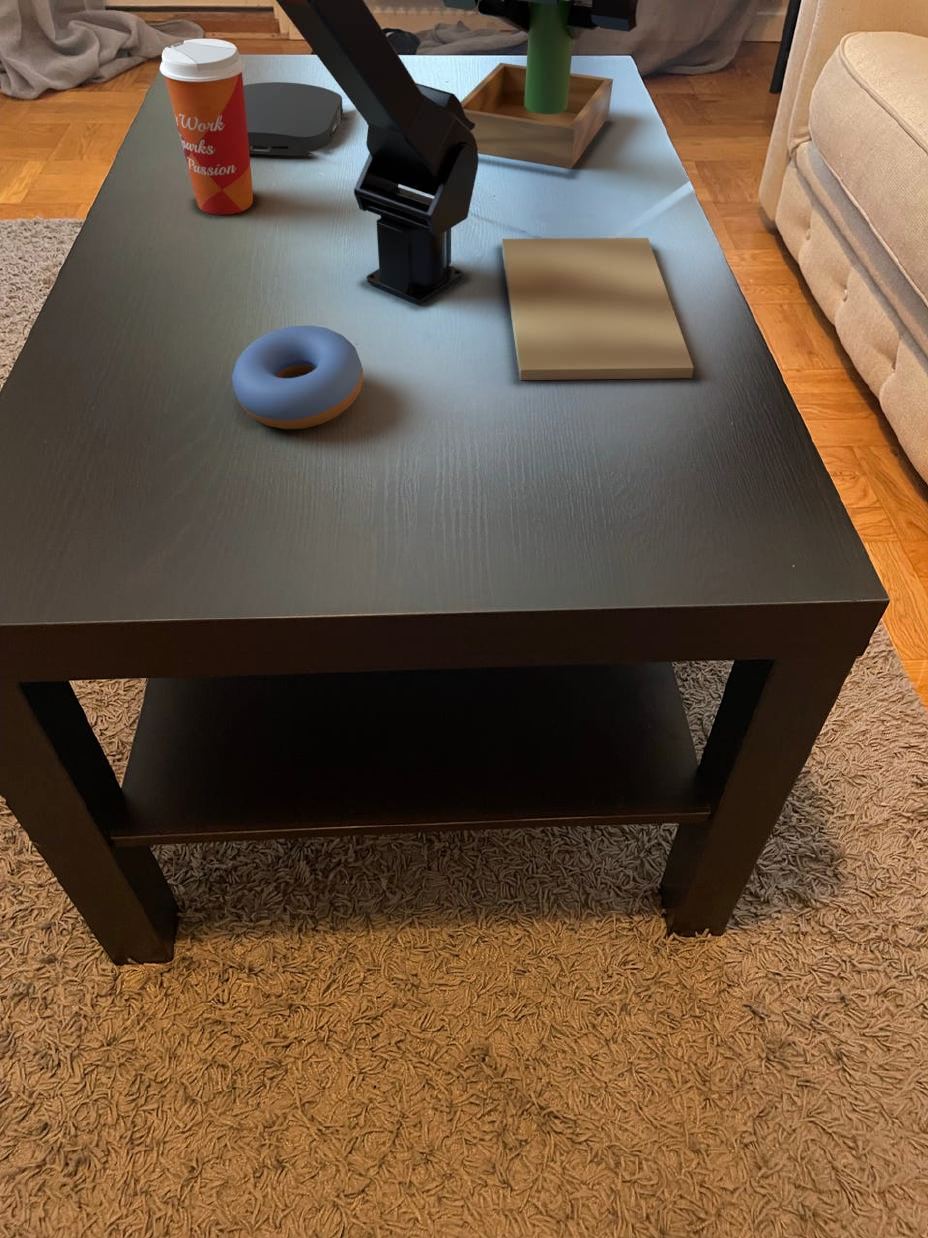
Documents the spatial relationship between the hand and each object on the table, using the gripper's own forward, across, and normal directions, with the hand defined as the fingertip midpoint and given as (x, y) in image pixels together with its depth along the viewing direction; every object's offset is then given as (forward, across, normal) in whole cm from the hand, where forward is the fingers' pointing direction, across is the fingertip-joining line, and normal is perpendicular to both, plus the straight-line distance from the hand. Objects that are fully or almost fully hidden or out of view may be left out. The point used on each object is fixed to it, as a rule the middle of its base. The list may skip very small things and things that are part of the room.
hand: (555, 32), depth 96 cm
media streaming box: (+8, +32, +11) cm, 34 cm away
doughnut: (-24, +5, +44) cm, 50 cm away
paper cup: (-4, +28, +24) cm, 37 cm away
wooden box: (+14, +4, +4) cm, 15 cm away
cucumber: (+4, 0, +6) cm, 7 cm away
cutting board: (-9, -12, +28) cm, 32 cm away
